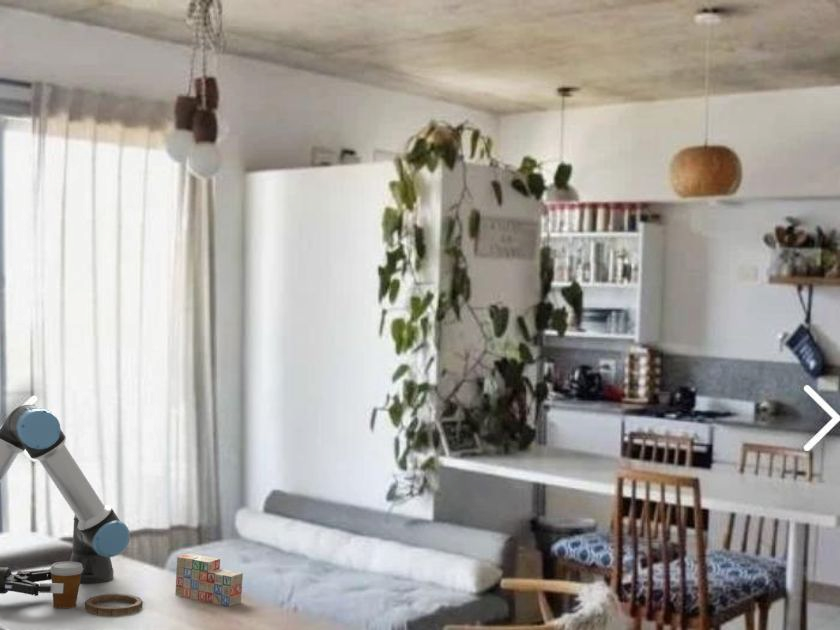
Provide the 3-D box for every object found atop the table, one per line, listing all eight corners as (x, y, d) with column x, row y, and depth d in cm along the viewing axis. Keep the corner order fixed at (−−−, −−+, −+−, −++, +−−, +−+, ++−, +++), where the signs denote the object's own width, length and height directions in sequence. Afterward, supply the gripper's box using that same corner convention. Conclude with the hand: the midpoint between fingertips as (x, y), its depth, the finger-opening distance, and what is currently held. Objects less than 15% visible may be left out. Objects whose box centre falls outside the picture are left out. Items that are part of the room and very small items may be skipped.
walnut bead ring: (116, 597, 319) (116, 591, 319) (152, 607, 311) (153, 601, 311) (73, 608, 306) (74, 601, 306) (111, 618, 297) (111, 611, 297)
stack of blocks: (241, 602, 322) (244, 563, 322) (229, 607, 317) (231, 566, 317) (187, 591, 332) (189, 552, 332) (174, 595, 326) (176, 556, 327)
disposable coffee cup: (70, 611, 302) (73, 570, 302) (41, 607, 304) (43, 566, 304) (87, 603, 312) (90, 563, 312) (58, 599, 314) (61, 559, 314)
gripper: (6, 582, 318) (77, 584, 320) (-20, 604, 293) (57, 606, 295) (7, 557, 318) (79, 560, 320) (-19, 577, 293) (58, 580, 295)
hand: (68, 582), depth 308 cm, fingers open, 13 cm apart
